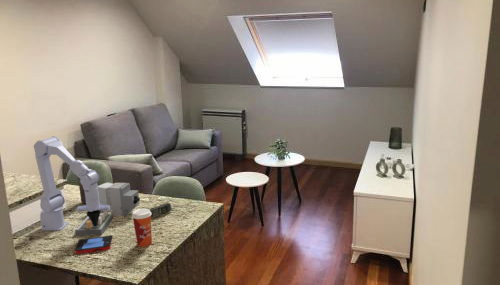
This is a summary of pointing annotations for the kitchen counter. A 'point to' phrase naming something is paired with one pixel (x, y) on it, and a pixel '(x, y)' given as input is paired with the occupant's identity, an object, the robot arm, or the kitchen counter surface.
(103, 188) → the supplement box
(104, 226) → the breaker panel
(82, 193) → the candle
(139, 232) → the coffee cup
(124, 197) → the circuit breaker
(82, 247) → the game console
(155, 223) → the kitchen counter surface
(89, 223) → the block
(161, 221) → the kitchen counter surface
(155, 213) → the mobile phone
